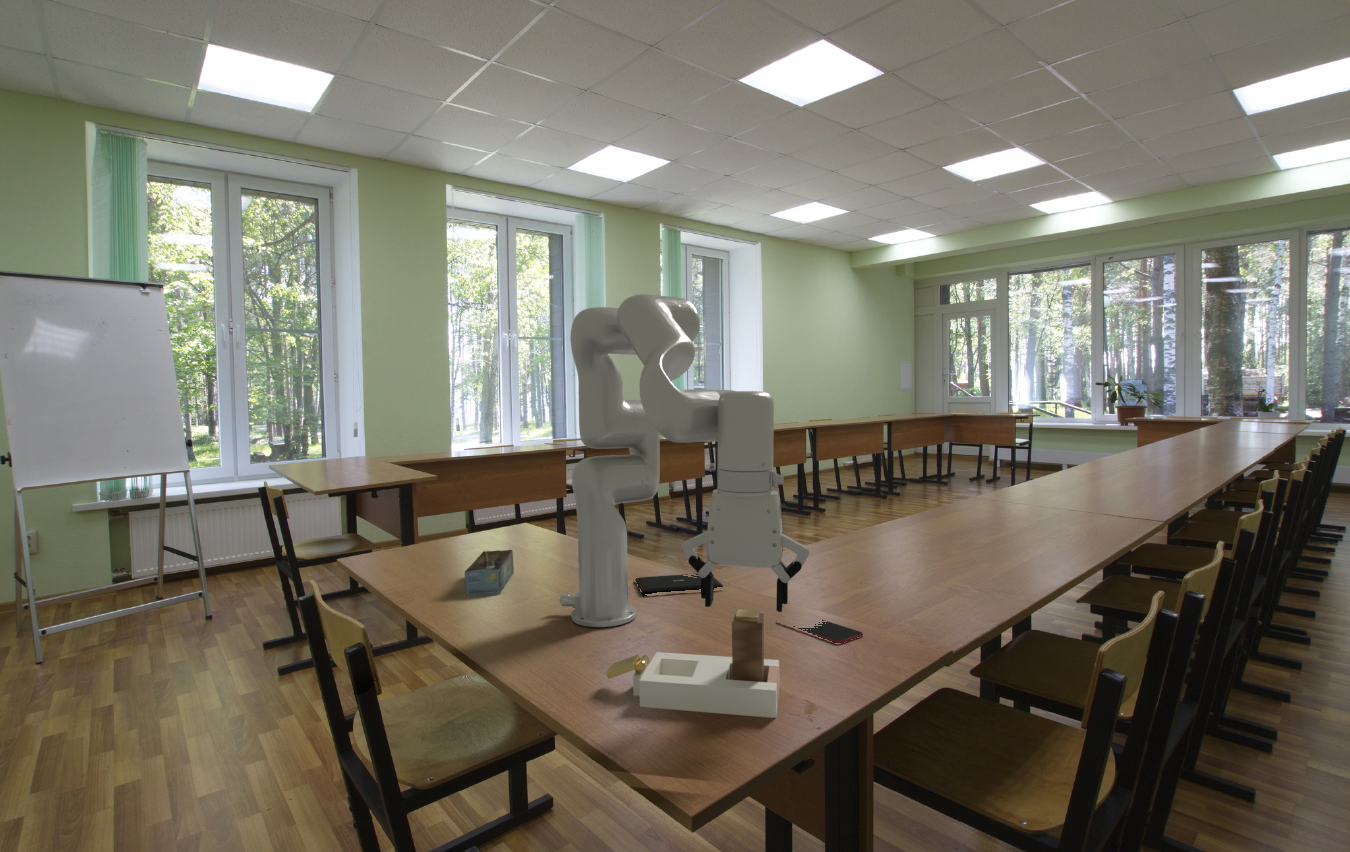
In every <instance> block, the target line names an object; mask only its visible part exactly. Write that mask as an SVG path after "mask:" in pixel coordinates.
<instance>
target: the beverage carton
mask: <svg viewBox="0 0 1350 852" xmlns="http://www.w3.org/2000/svg"><path fill="white" fill-rule="evenodd" d="M514 568H515V567H514V552H513V549H505V550H498V549H497V550H487V551H486V550H483V551H482V552H481V553H480V554H479V556H477V558H476V559H474V561H473V563H471V565H469V567H468V568H467V569H466V570H465V571H464V588H465V594H466V595H465V596H466V597H469V596H472V597H473V596H495V595H497V596H498V595H500V594H501V593H502V591H504V588H505V587H506V585H507V584H508V582H509V580H511V577H512V576H513V575H514V573H515V571H514Z"/></svg>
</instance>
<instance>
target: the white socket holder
mask: <svg viewBox="0 0 1350 852" xmlns="http://www.w3.org/2000/svg"><path fill="white" fill-rule="evenodd" d="M632 682H633V683H632V685H633V687H632V688H633V689H632V691H633V692H632V693H633V696H634V697H639V707H640V708H648V709H649V708H650V709H662V710H673V711H676V710H677V711H687V712H699V713H700V712H701V713H711V714H723V715H734V716H735V715H737V716H747V717H757V718H758V717H761V718H770V719H777V717H778V716H777V715H778V704H779V691H780V660H779V659H771V658H770V659H768V658H764V682H755V681H741V680H733V677H732V656H722V655H706V654H692V653H691V654H690V653H676V652H663V651H662V652H660V651H655V653H654V656H653V657H652V659H651V661H649V663H648V664H647V666H646V667H645V669H644V671H643V672H642V673H641V674H638V673H636V672H634V673H633V675H632Z"/></svg>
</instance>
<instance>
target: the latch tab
mask: <svg viewBox="0 0 1350 852" xmlns="http://www.w3.org/2000/svg"><path fill="white" fill-rule="evenodd" d="M649 663H650V657H649V656H648V655H646V654H645V655H642V656H640V654H636V655H633V656H631V657H628V658H625V659H622V660H620V661H617V662H614V663H612V664H611V665H610V666H609V667H608V669H607V670H606V672H605V675H606V677H607V680H609V679H612V678H615V677H618V676H621V675H623V674H628V673H630V672H632V671H635V672H636V673H638V674H641V673H642V672H643V671H644V669H645V667H646V666H647V665H649ZM635 672H634V673H635Z"/></svg>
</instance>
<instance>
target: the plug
mask: <svg viewBox="0 0 1350 852" xmlns="http://www.w3.org/2000/svg"><path fill="white" fill-rule="evenodd" d="M764 617H765V616H764V613H761V610H759V609H757V610H755V609H737V611H734V614H733V617H732V620H731V653H732V654H731V657H732V677H733V680H741V681H755V682H764V659H765V632H764V631H765V628H764V626H765V623H764V620H765V619H764Z"/></svg>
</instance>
